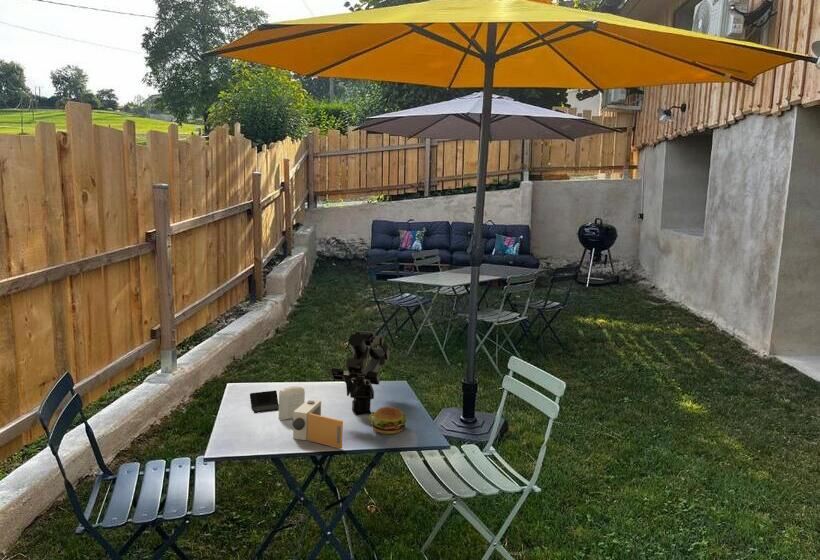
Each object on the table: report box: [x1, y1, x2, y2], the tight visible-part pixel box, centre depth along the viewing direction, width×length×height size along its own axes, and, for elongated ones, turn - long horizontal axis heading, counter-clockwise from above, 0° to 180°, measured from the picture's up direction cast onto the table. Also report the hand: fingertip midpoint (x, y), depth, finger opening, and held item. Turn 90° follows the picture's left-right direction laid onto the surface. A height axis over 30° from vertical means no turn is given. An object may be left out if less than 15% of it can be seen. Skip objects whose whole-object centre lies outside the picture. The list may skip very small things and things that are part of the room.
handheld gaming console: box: [249, 390, 279, 414], centre depth 250 cm, size 12×7×10 cm
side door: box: [306, 413, 344, 449], centre depth 216 cm, size 14×1×10 cm, turn 64°
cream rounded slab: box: [278, 385, 306, 421], centre depth 240 cm, size 10×4×12 cm, turn 123°
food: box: [367, 406, 407, 435], centre depth 233 cm, size 14×14×8 cm
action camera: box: [292, 398, 322, 441], centre depth 226 cm, size 16×5×11 cm, turn 167°
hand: (349, 395), depth 233 cm, fingers closed
